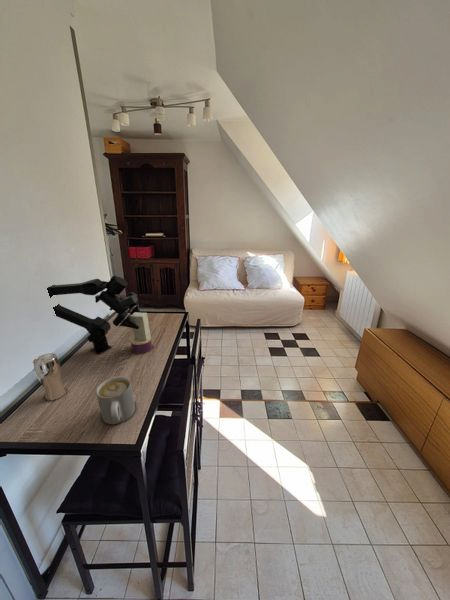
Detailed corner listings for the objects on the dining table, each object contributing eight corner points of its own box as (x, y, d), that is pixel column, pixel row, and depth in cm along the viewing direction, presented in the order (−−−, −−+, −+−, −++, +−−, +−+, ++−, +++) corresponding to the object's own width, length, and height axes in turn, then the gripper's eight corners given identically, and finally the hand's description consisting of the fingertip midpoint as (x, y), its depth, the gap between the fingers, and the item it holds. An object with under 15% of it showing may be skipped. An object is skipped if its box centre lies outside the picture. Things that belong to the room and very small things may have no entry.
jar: (127, 350, 116) (125, 340, 114) (142, 341, 123) (140, 331, 121) (142, 355, 111) (140, 345, 110) (156, 346, 119) (155, 335, 117)
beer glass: (51, 388, 92) (40, 353, 87) (70, 387, 92) (61, 352, 87) (39, 402, 85) (27, 365, 80) (60, 400, 86) (49, 363, 81)
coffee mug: (107, 402, 85) (102, 378, 81) (137, 399, 86) (133, 375, 83) (93, 435, 72) (86, 408, 69) (129, 431, 74) (124, 404, 70)
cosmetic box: (150, 336, 117) (147, 312, 113) (146, 341, 113) (142, 316, 109) (138, 335, 118) (134, 311, 114) (133, 339, 114) (129, 315, 110)
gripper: (115, 296, 98) (147, 320, 102) (131, 282, 116) (158, 304, 120) (99, 314, 101) (130, 338, 105) (117, 299, 119) (143, 319, 123)
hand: (141, 323), depth 113 cm, fingers open, 9 cm apart
